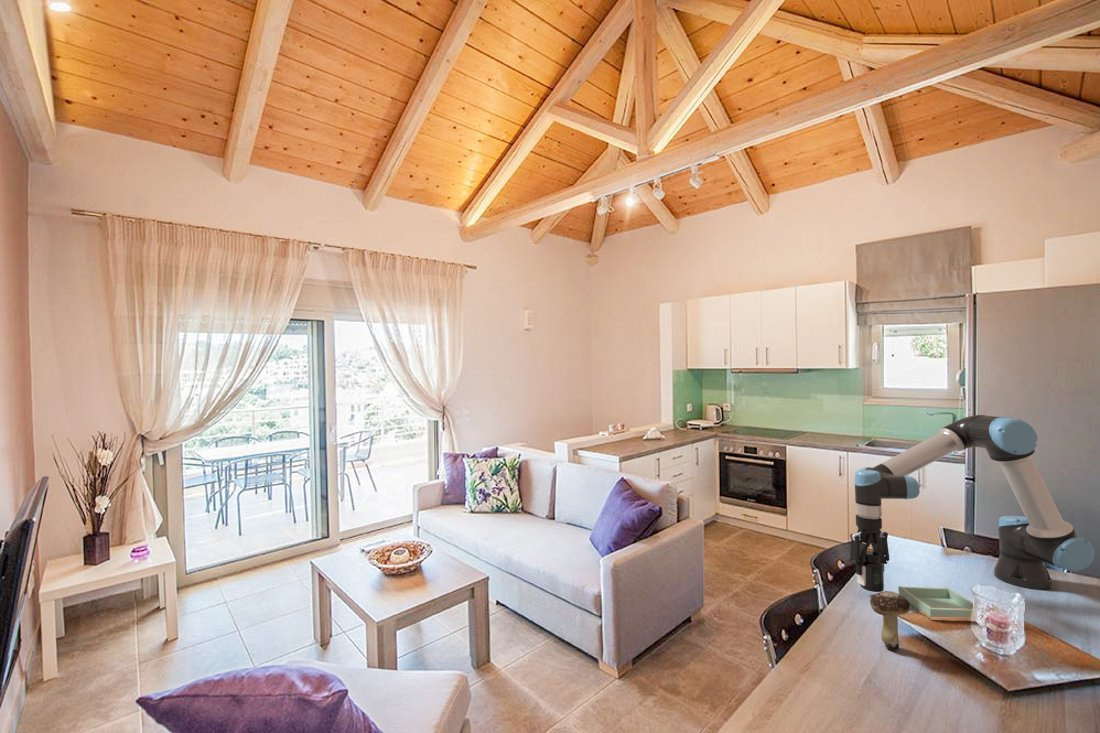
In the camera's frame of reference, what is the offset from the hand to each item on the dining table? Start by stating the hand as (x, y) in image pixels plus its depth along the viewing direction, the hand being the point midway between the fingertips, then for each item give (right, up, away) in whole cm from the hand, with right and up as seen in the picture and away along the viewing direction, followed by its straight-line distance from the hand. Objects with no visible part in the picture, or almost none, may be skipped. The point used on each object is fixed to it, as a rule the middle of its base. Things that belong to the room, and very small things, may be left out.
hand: (870, 582), depth 165 cm
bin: (+16, -4, -10) cm, 19 cm away
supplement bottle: (0, -2, 0) cm, 2 cm away
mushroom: (-16, -4, -32) cm, 36 cm away
